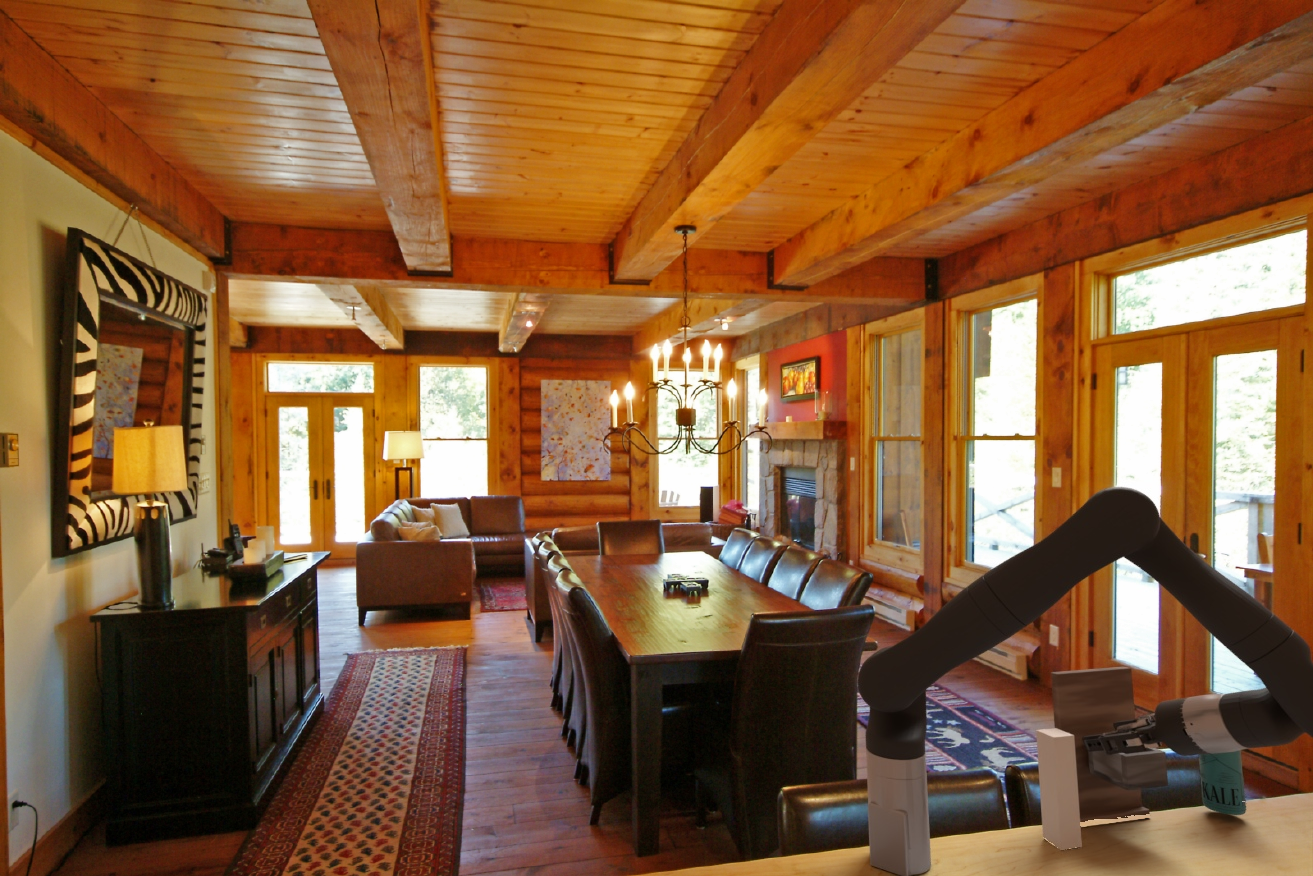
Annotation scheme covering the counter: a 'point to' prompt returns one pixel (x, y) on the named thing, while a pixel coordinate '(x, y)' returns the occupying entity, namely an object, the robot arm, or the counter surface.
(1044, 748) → the beige tall block
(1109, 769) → the cup bracket
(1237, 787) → the beverage bottle
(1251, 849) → the counter surface
